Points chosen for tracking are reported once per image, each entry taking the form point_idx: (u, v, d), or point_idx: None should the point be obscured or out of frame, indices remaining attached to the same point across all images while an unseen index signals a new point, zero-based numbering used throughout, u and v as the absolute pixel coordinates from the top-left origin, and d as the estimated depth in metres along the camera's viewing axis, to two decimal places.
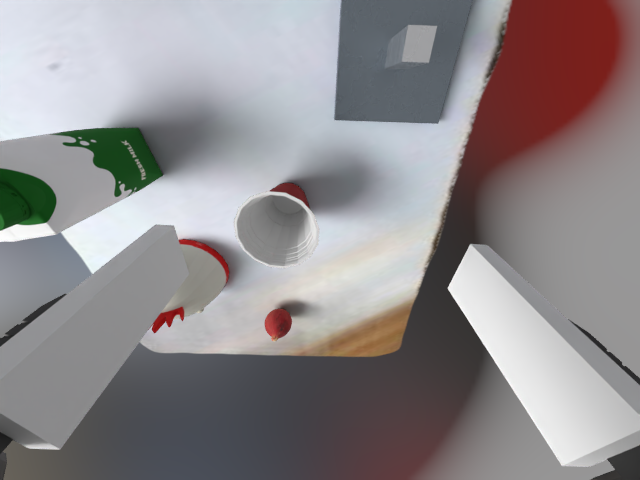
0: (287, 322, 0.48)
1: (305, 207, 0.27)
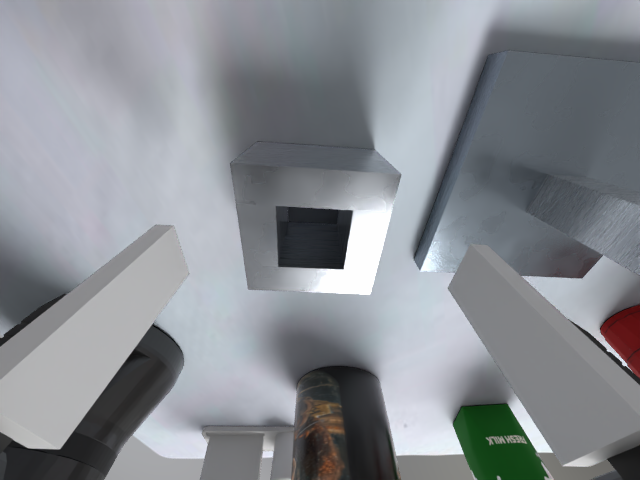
0: None
1: None
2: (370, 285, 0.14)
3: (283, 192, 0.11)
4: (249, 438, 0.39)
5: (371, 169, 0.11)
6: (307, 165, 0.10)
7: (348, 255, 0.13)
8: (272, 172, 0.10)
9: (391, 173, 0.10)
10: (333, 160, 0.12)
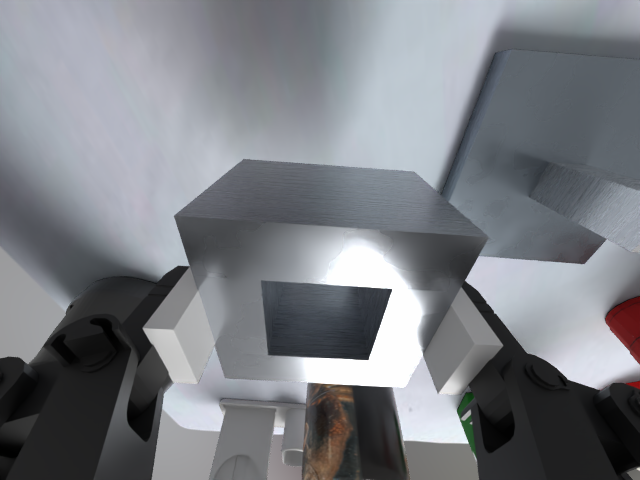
0: None
1: None
2: (406, 378, 0.09)
3: (273, 261, 0.06)
4: (262, 412, 0.42)
5: (429, 223, 0.06)
6: (316, 216, 0.06)
7: (377, 344, 0.08)
8: (253, 230, 0.06)
9: (469, 235, 0.06)
10: (359, 200, 0.07)
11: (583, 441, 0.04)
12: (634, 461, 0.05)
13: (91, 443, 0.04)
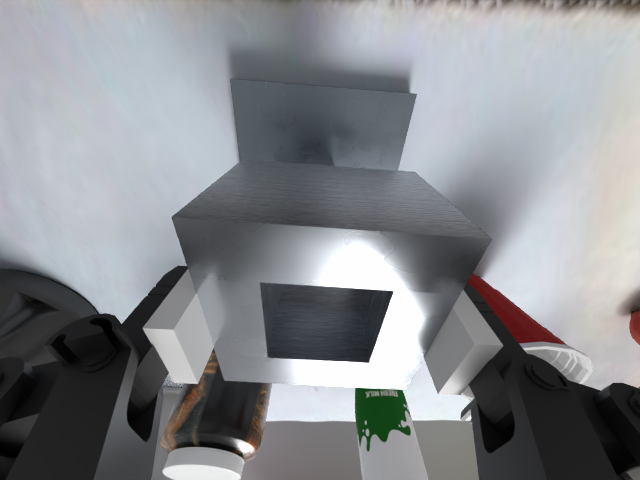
0: None
1: None
2: (407, 381, 0.09)
3: (272, 263, 0.06)
4: None
5: (431, 224, 0.06)
6: (316, 217, 0.06)
7: (378, 347, 0.08)
8: (251, 232, 0.05)
9: (472, 236, 0.05)
10: (359, 201, 0.07)
11: (583, 441, 0.04)
12: (634, 461, 0.05)
13: (91, 443, 0.04)
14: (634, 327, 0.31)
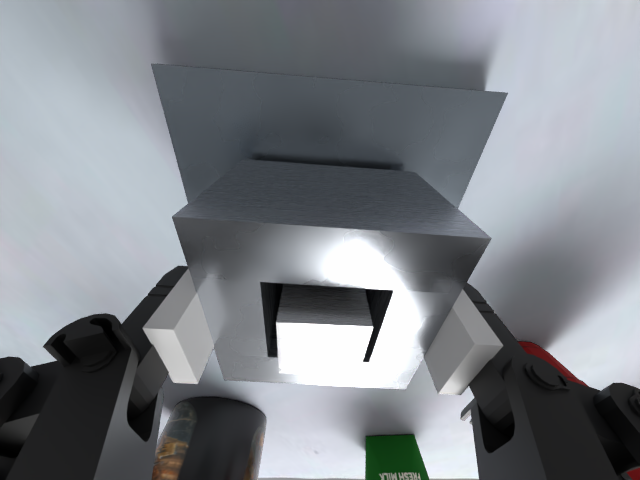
0: None
1: None
2: (407, 380, 0.09)
3: (272, 263, 0.06)
4: None
5: (431, 224, 0.06)
6: (316, 217, 0.06)
7: (378, 346, 0.08)
8: (252, 232, 0.05)
9: (472, 236, 0.06)
10: (359, 200, 0.07)
11: (583, 441, 0.04)
12: (634, 461, 0.05)
13: (91, 443, 0.04)
14: None
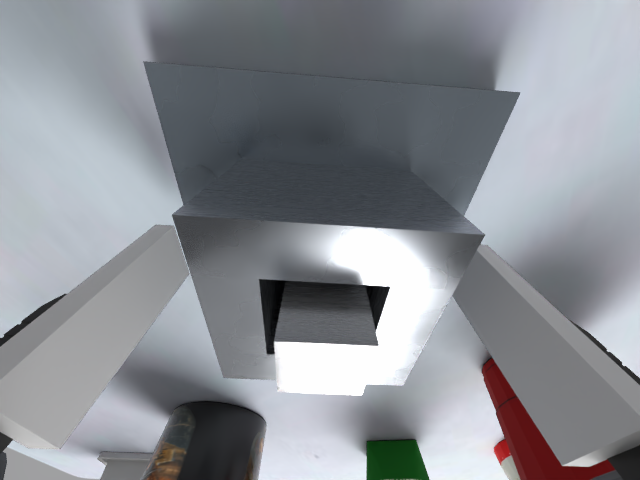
0: None
1: None
2: (405, 376, 0.09)
3: (271, 260, 0.06)
4: None
5: (426, 221, 0.06)
6: (313, 214, 0.06)
7: None
8: (250, 229, 0.06)
9: (466, 232, 0.06)
10: (356, 199, 0.07)
11: None
12: None
13: None
14: None
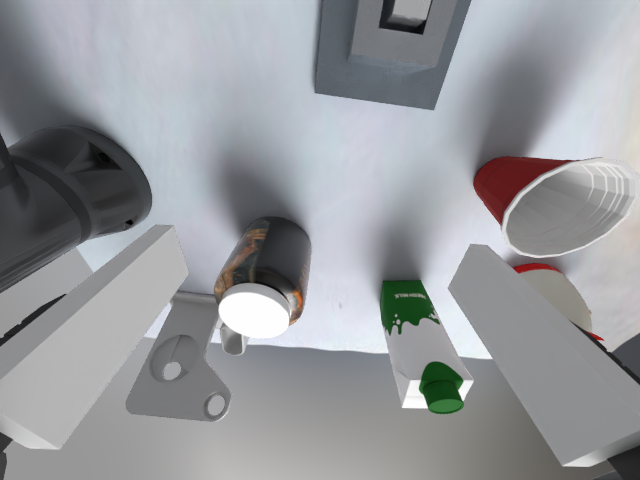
0: None
1: (554, 172, 0.20)
2: (438, 55, 0.20)
3: None
4: (208, 306, 0.47)
5: None
6: None
7: (429, 18, 0.18)
8: None
9: None
10: None
11: None
12: None
13: None
14: None
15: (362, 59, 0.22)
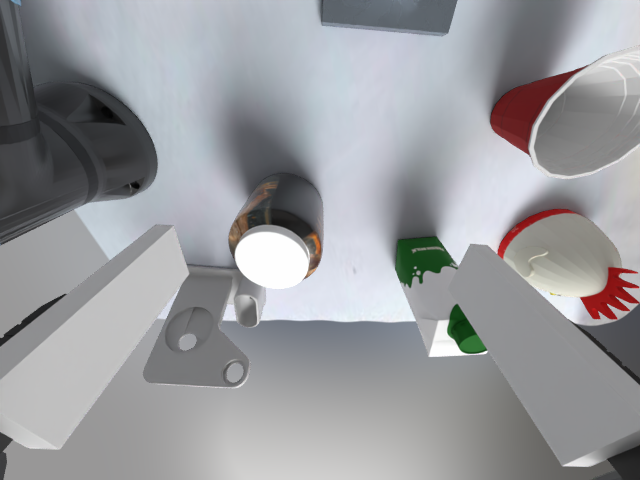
0: None
1: (588, 69, 0.19)
2: None
3: None
4: (219, 279, 0.46)
5: None
6: None
7: None
8: None
9: None
10: None
11: None
12: None
13: None
14: None
15: None
